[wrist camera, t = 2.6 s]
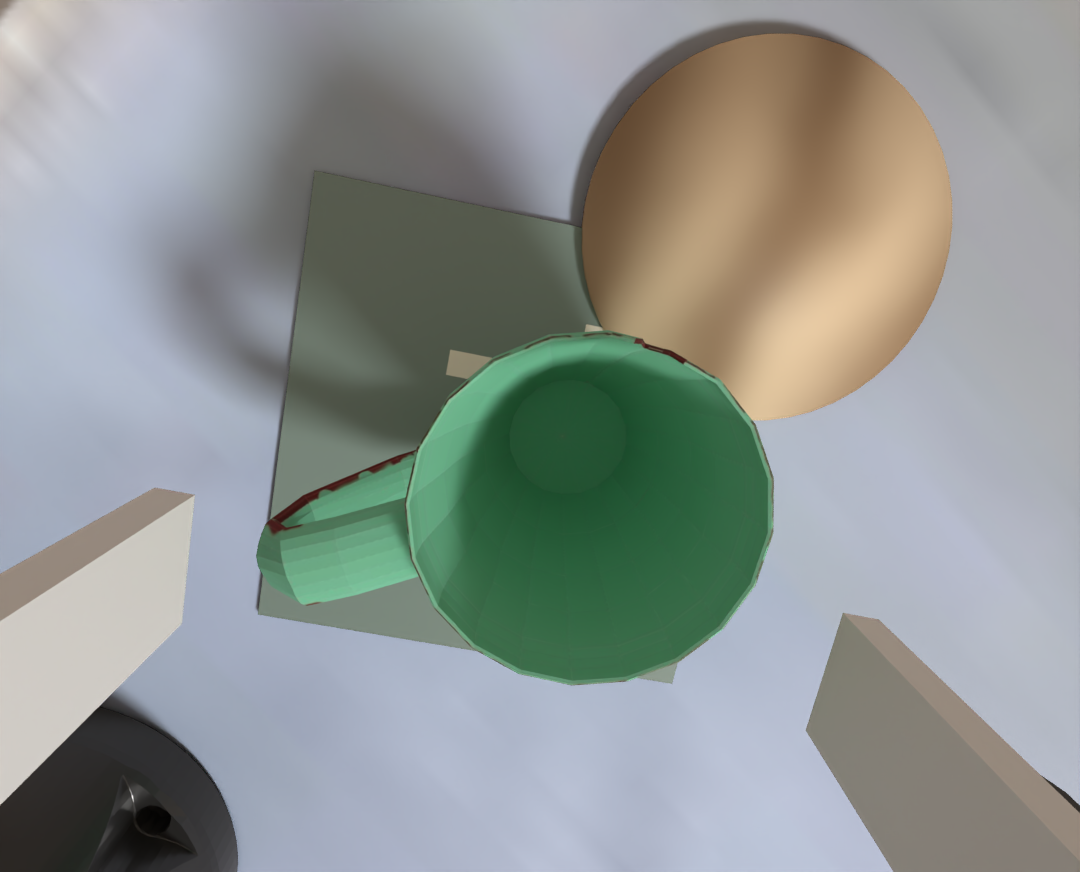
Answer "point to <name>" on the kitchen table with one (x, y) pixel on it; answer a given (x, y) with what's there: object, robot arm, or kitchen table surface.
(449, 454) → the mug
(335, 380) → the tile
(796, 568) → the kitchen table surface
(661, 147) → the coaster
